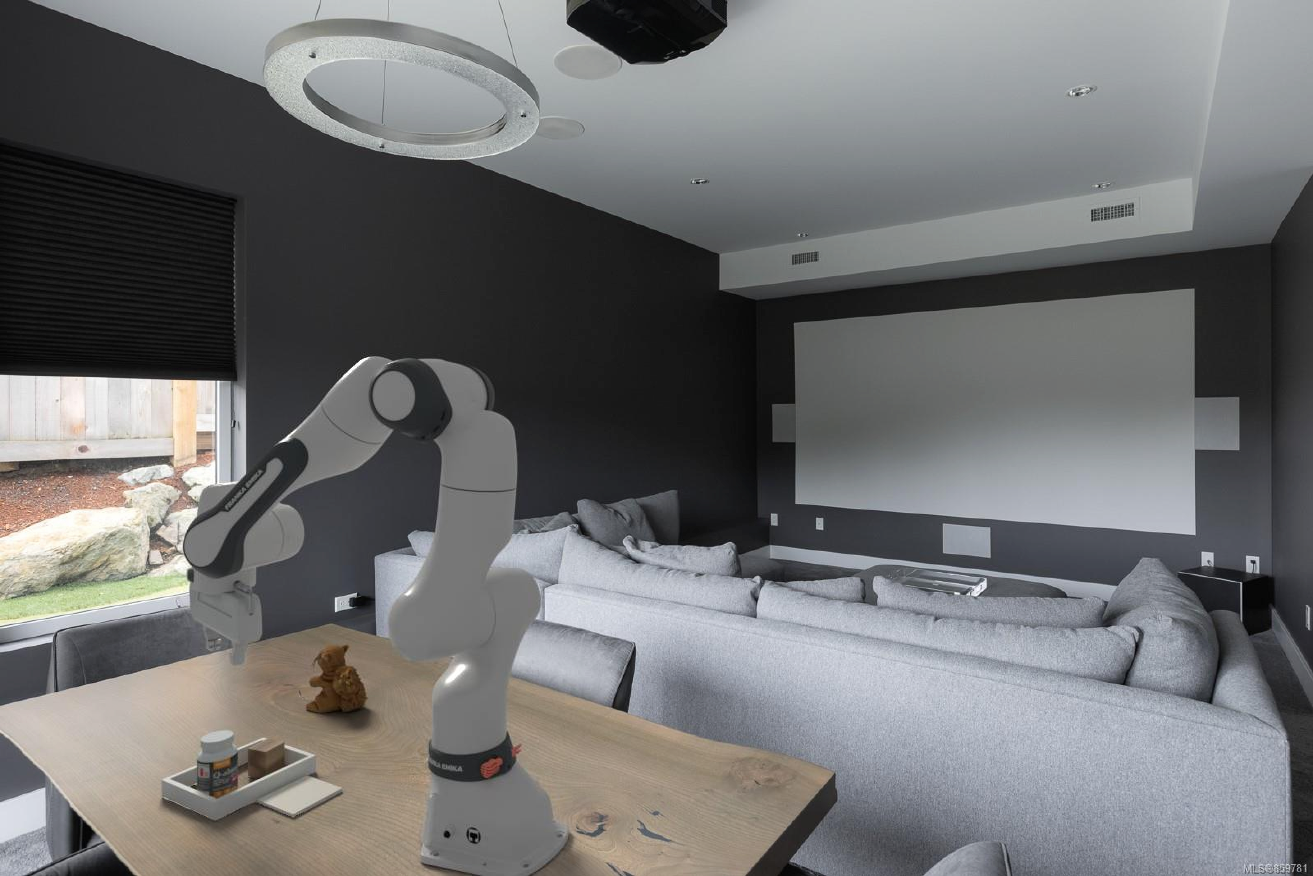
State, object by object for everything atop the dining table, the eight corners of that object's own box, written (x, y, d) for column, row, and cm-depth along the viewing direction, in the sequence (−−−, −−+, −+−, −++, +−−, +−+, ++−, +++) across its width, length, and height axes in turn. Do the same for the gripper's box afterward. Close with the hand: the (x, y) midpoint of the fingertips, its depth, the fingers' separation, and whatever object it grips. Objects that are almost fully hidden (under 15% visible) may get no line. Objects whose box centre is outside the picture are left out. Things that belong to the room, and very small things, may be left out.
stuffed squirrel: (341, 693, 162) (340, 635, 162) (381, 706, 155) (381, 646, 155) (299, 708, 154) (299, 647, 153) (340, 723, 146) (340, 659, 146)
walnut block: (284, 769, 127) (284, 742, 127) (266, 780, 123) (265, 752, 123) (267, 766, 128) (266, 738, 128) (248, 777, 125) (247, 748, 124)
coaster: (342, 791, 120) (342, 788, 120) (293, 818, 112) (293, 814, 112) (306, 778, 124) (306, 775, 124) (257, 803, 116) (256, 799, 116)
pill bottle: (219, 806, 115) (218, 745, 115) (188, 802, 116) (187, 742, 116) (246, 788, 120) (245, 730, 120) (217, 785, 122) (216, 727, 121)
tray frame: (315, 771, 126) (315, 755, 126) (215, 821, 111) (215, 802, 111) (263, 753, 133) (263, 737, 133) (161, 797, 117) (161, 779, 117)
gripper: (273, 585, 117) (272, 668, 118) (222, 563, 129) (220, 638, 130) (232, 591, 112) (230, 678, 113) (182, 568, 125) (181, 646, 125)
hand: (224, 656), depth 122 cm, fingers open, 8 cm apart
